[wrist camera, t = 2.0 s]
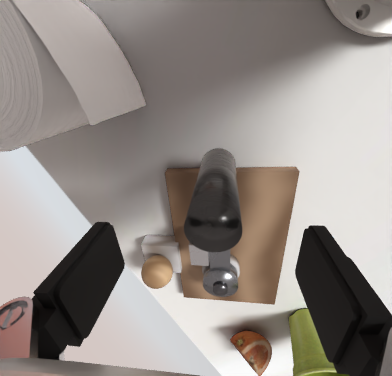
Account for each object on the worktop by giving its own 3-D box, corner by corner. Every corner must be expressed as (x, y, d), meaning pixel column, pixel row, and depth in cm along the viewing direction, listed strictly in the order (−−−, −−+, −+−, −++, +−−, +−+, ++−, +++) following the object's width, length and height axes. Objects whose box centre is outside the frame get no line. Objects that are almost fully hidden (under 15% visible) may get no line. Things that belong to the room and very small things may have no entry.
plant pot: (285, 336, 37) (300, 404, 29) (270, 305, 33) (284, 373, 26) (343, 331, 34) (377, 404, 26) (334, 296, 30) (370, 370, 23)
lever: (236, 284, 28) (242, 385, 19) (197, 281, 29) (184, 377, 20) (242, 142, 19) (259, 207, 9) (184, 144, 19) (147, 205, 10)
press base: (295, 166, 22) (318, 195, 16) (272, 297, 32) (282, 340, 27) (130, 169, 24) (103, 194, 19) (158, 288, 35) (146, 326, 29)
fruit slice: (223, 322, 37) (222, 354, 33) (259, 316, 35) (264, 351, 31) (240, 345, 40) (242, 378, 36) (274, 342, 38) (280, 376, 34)
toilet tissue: (-9, 10, 18) (-222, -50, 10) (111, -31, 16) (-28, -162, 7) (51, 130, 23) (-54, 162, 14) (150, 111, 21) (95, 136, 12)
